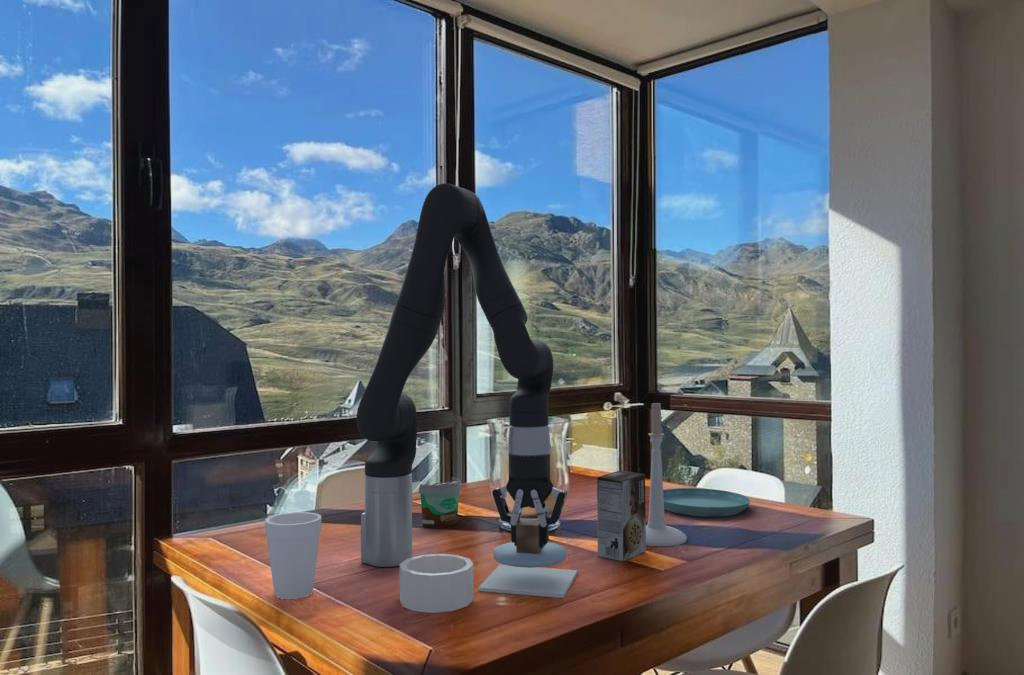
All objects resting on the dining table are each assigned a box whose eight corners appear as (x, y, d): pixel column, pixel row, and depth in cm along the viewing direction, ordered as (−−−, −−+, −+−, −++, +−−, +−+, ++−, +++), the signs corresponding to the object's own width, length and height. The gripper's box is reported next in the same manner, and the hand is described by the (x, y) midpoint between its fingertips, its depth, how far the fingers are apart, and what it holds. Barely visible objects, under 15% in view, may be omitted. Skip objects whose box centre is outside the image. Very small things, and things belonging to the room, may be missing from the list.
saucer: (749, 523, 184) (749, 509, 184) (647, 516, 191) (647, 503, 191) (751, 502, 207) (751, 490, 207) (659, 497, 214) (659, 485, 214)
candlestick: (630, 546, 163) (630, 403, 163) (623, 531, 176) (623, 399, 176) (692, 546, 163) (691, 403, 163) (680, 531, 175) (680, 398, 175)
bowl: (388, 608, 126) (388, 572, 126) (416, 585, 137) (416, 552, 137) (459, 615, 123) (458, 577, 123) (481, 591, 134) (481, 556, 134)
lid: (485, 564, 135) (484, 529, 135) (504, 545, 147) (504, 512, 147) (558, 569, 131) (558, 533, 131) (572, 549, 144) (571, 516, 144)
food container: (438, 531, 176) (437, 487, 176) (418, 527, 179) (418, 484, 179) (473, 521, 186) (472, 479, 186) (453, 517, 189) (453, 476, 189)
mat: (478, 591, 134) (478, 587, 134) (499, 567, 148) (499, 564, 148) (563, 598, 131) (563, 594, 131) (577, 573, 144) (577, 570, 144)
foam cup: (327, 584, 138) (326, 511, 138) (315, 602, 129) (315, 524, 129) (273, 585, 138) (273, 512, 138) (258, 603, 129) (257, 525, 129)
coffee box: (619, 546, 163) (619, 469, 163) (646, 551, 159) (646, 473, 159) (596, 556, 156) (595, 476, 156) (623, 562, 152) (623, 479, 152)
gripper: (485, 452, 137) (486, 549, 137) (564, 454, 134) (565, 554, 134) (496, 446, 145) (497, 538, 145) (571, 448, 141) (572, 542, 141)
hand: (530, 545), depth 139 cm, fingers closed on lid, 4 cm apart
